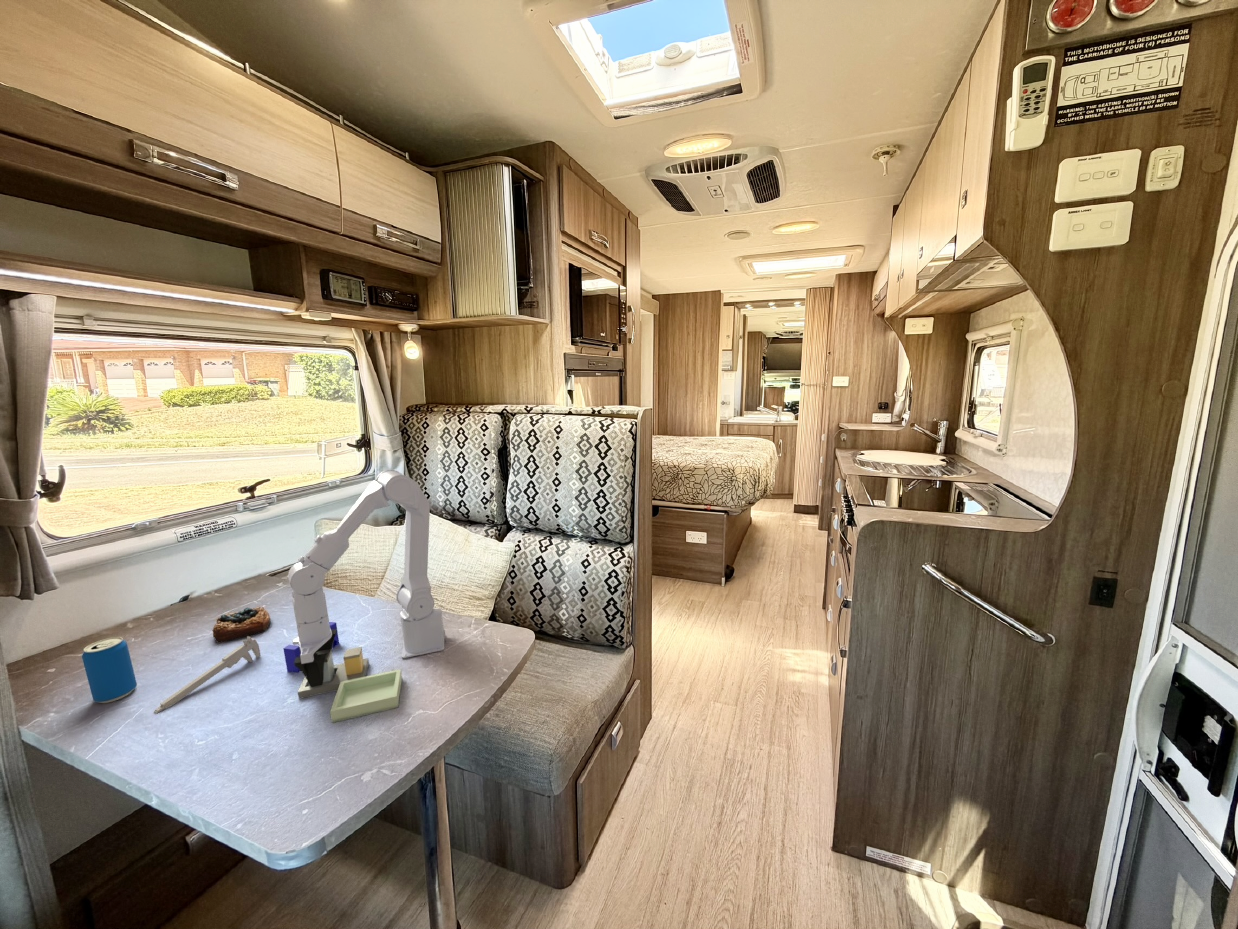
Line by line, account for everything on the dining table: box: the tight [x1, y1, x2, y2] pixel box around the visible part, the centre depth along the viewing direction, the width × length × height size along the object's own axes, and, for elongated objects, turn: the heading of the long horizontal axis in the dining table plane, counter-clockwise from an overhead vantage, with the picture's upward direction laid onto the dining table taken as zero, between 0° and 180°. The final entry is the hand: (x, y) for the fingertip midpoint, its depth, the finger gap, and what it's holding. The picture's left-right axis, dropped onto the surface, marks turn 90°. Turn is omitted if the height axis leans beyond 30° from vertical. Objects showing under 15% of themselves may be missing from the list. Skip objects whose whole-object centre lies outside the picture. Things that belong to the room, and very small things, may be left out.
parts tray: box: [329, 668, 403, 724], centre depth 97 cm, size 12×10×2 cm
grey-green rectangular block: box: [309, 649, 335, 686], centre depth 102 cm, size 4×4×7 cm
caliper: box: [153, 636, 261, 714], centre depth 104 cm, size 20×1×6 cm, turn 162°
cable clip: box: [283, 621, 340, 674], centre depth 112 cm, size 12×4×6 cm, turn 168°
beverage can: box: [81, 636, 138, 704], centre depth 100 cm, size 6×6×12 cm
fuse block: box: [297, 646, 370, 699], centre depth 103 cm, size 12×8×6 cm, turn 110°
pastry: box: [211, 606, 271, 644], centre depth 126 cm, size 11×12×6 cm
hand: (321, 674), depth 102 cm, fingers open, 7 cm apart
